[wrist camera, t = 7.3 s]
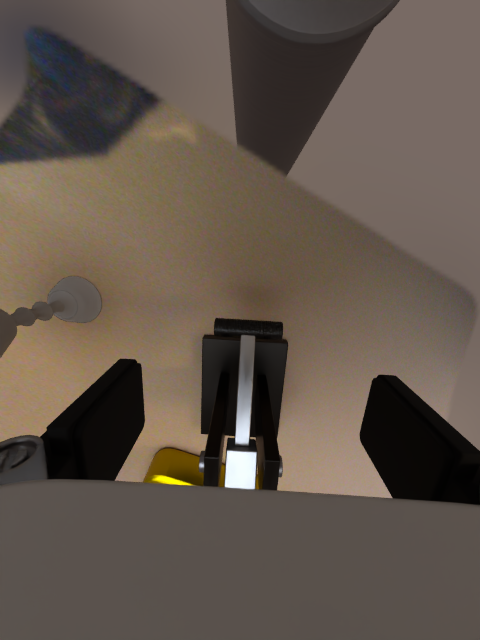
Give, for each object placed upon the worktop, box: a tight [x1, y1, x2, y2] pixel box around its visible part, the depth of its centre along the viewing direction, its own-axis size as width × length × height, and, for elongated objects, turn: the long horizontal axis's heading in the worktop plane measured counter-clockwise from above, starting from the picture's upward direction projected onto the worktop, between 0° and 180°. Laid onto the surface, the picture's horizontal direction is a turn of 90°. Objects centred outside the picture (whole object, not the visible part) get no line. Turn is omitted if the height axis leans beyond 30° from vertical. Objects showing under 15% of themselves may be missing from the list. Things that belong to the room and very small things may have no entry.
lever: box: [214, 318, 283, 489], centre depth 19 cm, size 12×5×2 cm, turn 178°
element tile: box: [143, 448, 259, 489], centre depth 32 cm, size 15×15×5 cm
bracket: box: [199, 335, 288, 490], centre depth 23 cm, size 12×9×13 cm
